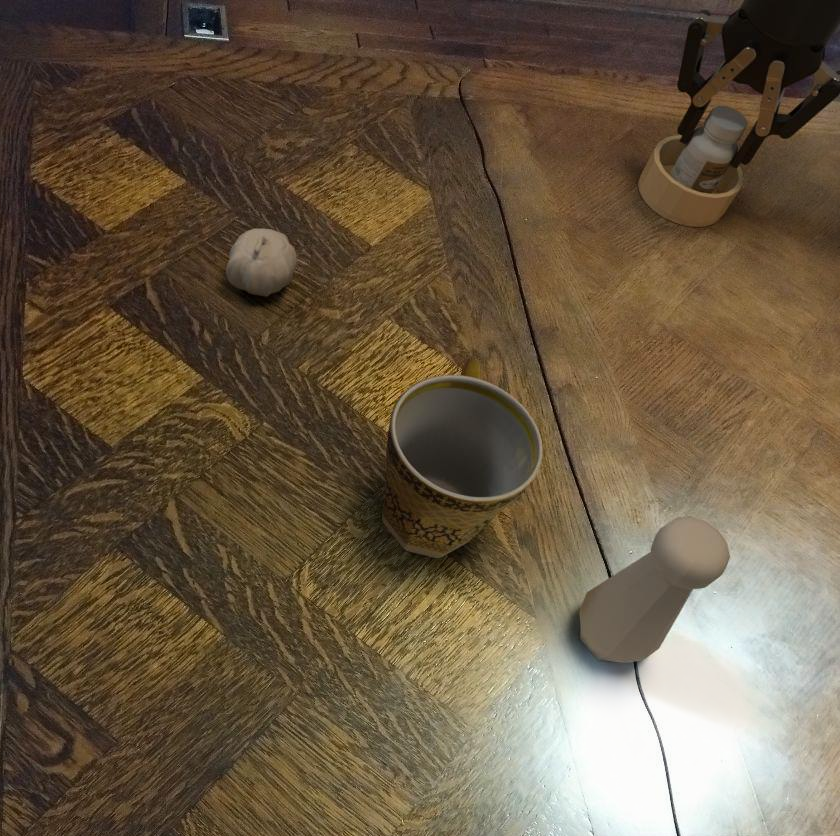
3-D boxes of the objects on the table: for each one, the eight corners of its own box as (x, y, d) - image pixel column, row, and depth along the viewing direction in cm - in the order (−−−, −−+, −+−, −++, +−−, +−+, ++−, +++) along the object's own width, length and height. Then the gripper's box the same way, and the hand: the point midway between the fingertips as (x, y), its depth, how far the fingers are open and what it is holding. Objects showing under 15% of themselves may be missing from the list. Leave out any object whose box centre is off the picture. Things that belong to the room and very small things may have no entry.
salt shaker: (552, 612, 69) (634, 512, 57) (618, 588, 70) (710, 488, 59) (595, 686, 66) (690, 597, 55) (663, 660, 68) (767, 568, 57)
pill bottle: (692, 210, 92) (735, 140, 86) (656, 183, 94) (696, 111, 87) (719, 193, 94) (762, 123, 88) (683, 167, 95) (724, 96, 89)
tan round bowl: (703, 165, 98) (721, 134, 95) (738, 226, 94) (758, 197, 91) (625, 165, 96) (641, 134, 93) (657, 228, 92) (674, 198, 89)
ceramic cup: (488, 593, 68) (539, 517, 60) (348, 560, 68) (380, 479, 60) (501, 447, 75) (549, 361, 67) (374, 417, 75) (406, 326, 67)
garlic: (252, 319, 78) (260, 271, 74) (209, 278, 80) (214, 228, 75) (307, 288, 81) (318, 240, 76) (264, 249, 82) (272, 199, 78)
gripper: (917, -20, 77) (792, 164, 91) (747, -93, 79) (651, 98, 93) (898, 23, 73) (771, 207, 87) (720, -55, 75) (625, 137, 89)
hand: (710, 150), depth 90 cm, fingers closed on pill bottle, 4 cm apart
